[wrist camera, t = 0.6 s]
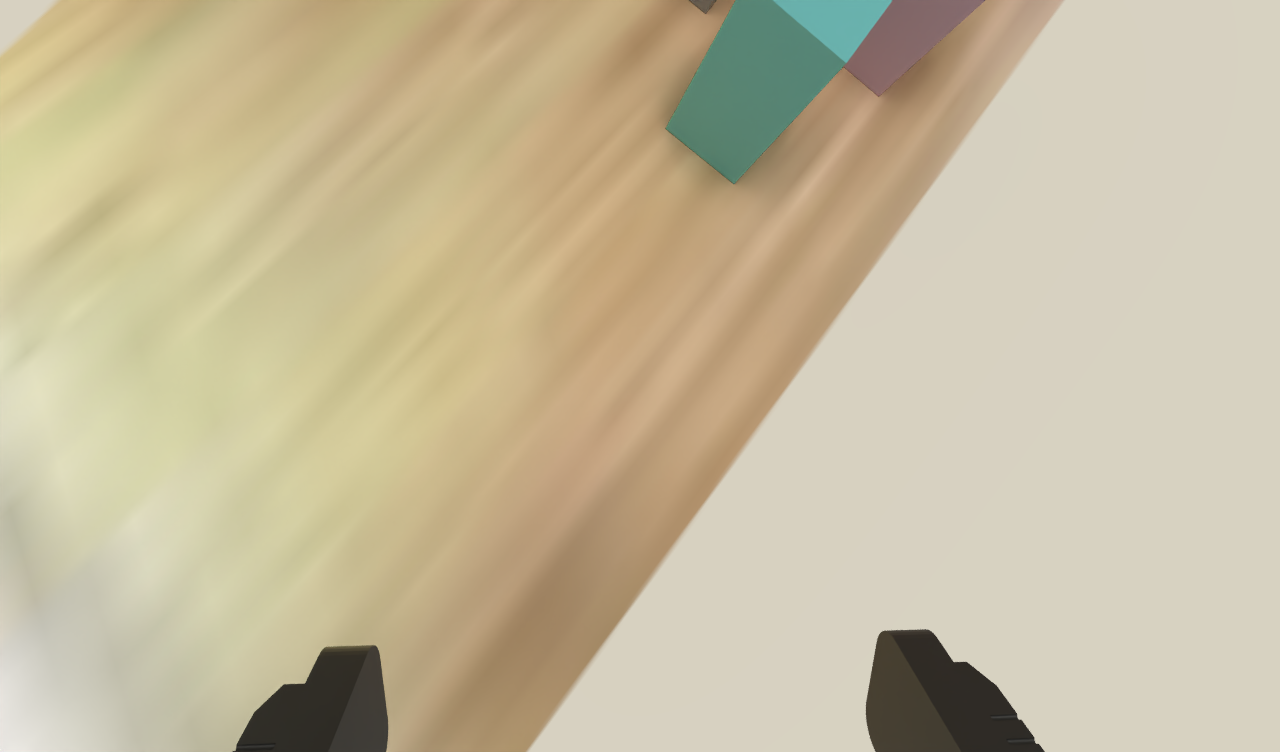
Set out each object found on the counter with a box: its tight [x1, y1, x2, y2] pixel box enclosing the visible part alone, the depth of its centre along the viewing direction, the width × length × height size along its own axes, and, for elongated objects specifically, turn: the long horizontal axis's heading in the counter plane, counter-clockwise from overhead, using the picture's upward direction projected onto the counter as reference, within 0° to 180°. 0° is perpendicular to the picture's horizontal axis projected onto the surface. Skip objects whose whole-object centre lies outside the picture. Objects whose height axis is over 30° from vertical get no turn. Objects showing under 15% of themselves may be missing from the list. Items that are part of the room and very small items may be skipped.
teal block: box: [666, 0, 892, 184], centre depth 31 cm, size 4×4×12 cm
